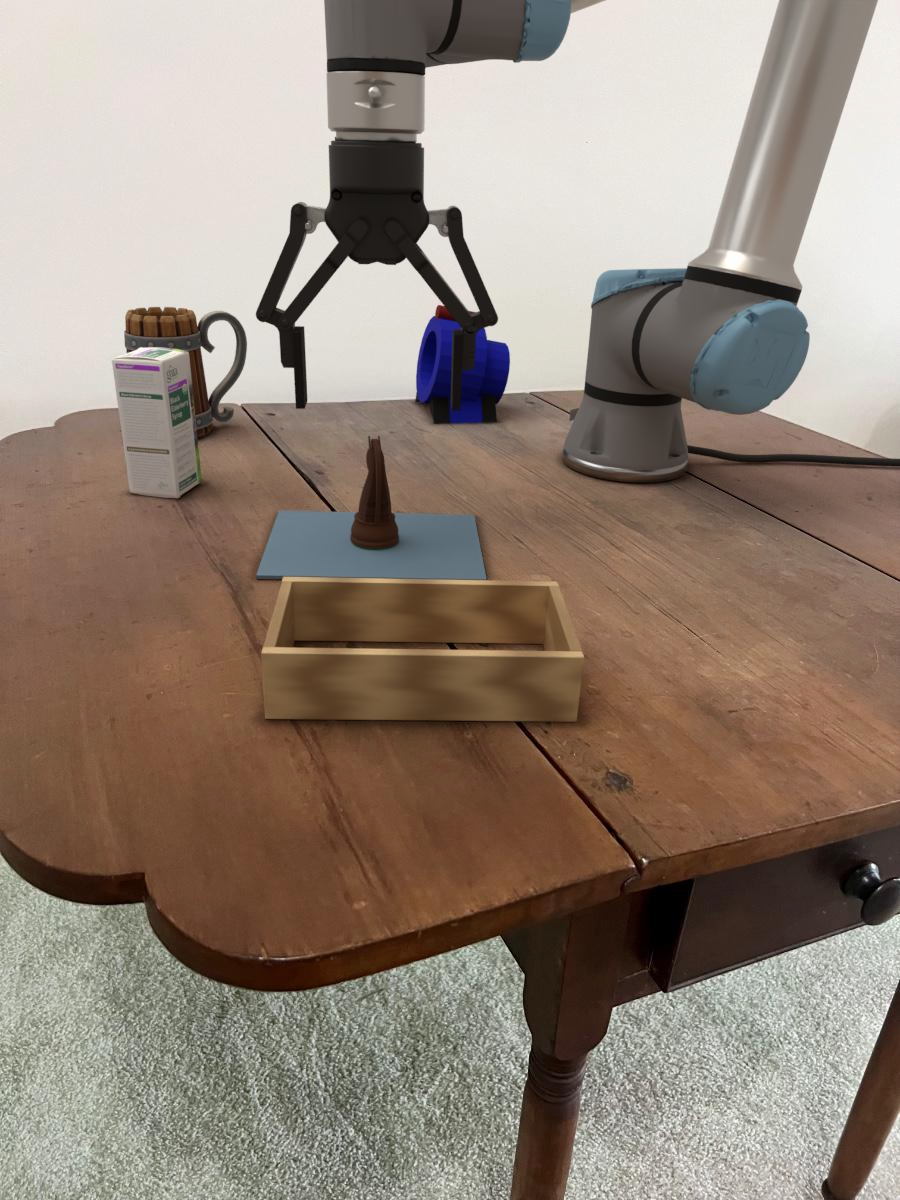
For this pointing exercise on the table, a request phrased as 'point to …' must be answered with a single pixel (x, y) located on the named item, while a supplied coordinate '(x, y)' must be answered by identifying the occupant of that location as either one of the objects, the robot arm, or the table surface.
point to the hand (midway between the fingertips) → (379, 406)
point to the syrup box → (157, 421)
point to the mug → (185, 335)
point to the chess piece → (375, 506)
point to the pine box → (421, 651)
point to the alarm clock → (476, 386)
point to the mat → (328, 551)
